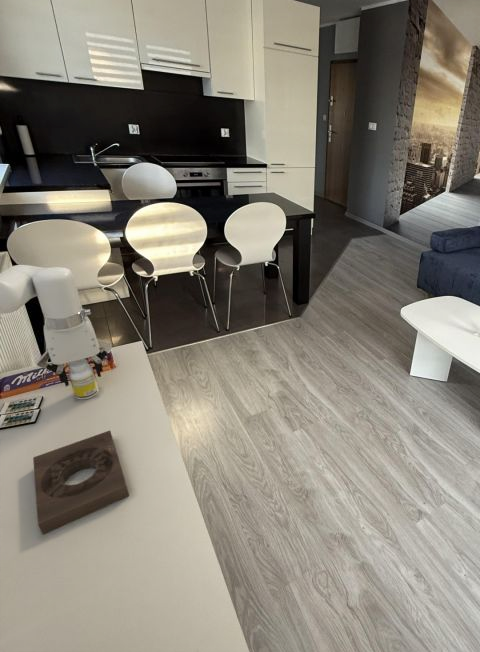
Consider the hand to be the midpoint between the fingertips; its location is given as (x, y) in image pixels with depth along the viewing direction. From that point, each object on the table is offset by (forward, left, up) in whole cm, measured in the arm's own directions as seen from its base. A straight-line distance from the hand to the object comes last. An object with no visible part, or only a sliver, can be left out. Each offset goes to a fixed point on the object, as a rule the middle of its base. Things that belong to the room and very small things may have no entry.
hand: (83, 378), depth 103 cm
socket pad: (+14, -27, -5) cm, 31 cm away
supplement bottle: (0, 0, -5) cm, 5 cm away
